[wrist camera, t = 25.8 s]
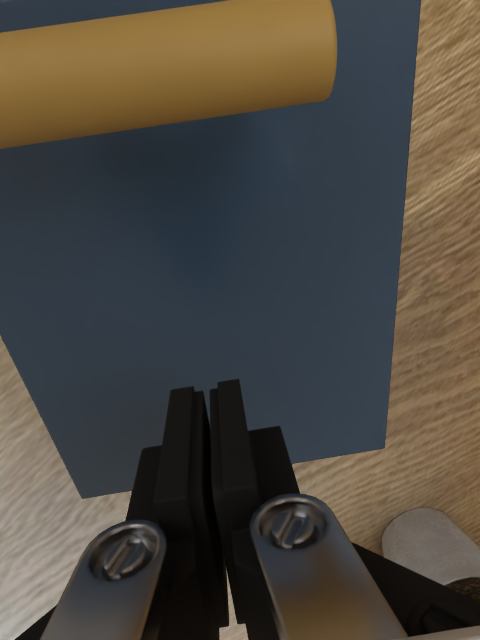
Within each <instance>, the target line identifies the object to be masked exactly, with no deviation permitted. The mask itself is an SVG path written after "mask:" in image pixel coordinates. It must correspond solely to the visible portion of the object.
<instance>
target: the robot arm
mask: <svg viewBox="0 0 480 640" xmlns="http://www.w3.org/2000/svg"><path fill="white" fill-rule="evenodd" d="M217 385H218V388H215V389H210V424H209V419H208V413H207V408H206V403H205V397H204V393H203V390H202V391H196V392H195V389H194V386H190V387H184V388H178V389H172V390H171V391H170V397H169V403H168V410H167V416H166V423H165V429H164V436H163V442H162V445H159V446H153V447H147V448H143V449H142V451H141V455H140V459H139V463H138V468H137V472H136V477H135V481H134V486H133V490H132V495H131V499H130V503H129V508H128V512H127V517H126V521H125V522H121V523H119V524H116V525H114V526H111V527H110V528H108V529H106V530H105V531H103V532H102V533H100V534H99V535H98V536H97V537H95V538H94V539H93V540H92V541H91V542H90V543H89V545H88V546H87V548H86V549H85V551H84V552H83V554H82V555H81V557H80V559H79V562H78V564H77V566H76V568H75V570H74V572H73V574H72V576H71V578H70V580H69V582H68V584H67V586H66V588H65V590H64V592H63V594H62V596H61V598H60V600H59V602H58V604H57V605H56V606H55V607H54V608H53V609H51V610H50V611H49V612H48V613H46V614H45V615H44V616H43V617H42V618H40V619H39V620H38V621H37V622H36V623H34V624H33V625H32V626H31V627H29V628H28V629H27V630H26V631H25V632H23V633H22V634H21V635H20V636H19V637H17V638H16V639H15V640H219V628H221V627H227V626H229V610H228V592H227V574H228V579H229V584H230V589H231V594H232V599H233V604H234V609H235V614H236V619H237V624H244V623H246V628H247V634H248V639H249V640H480V604H479V603H478V602H476V601H474V600H473V599H471V598H469V597H468V596H466V595H463V594H461V593H459V592H457V591H455V590H453V589H451V588H448V587H446V586H444V585H442V584H440V583H438V582H436V581H433V580H431V579H429V578H427V577H425V576H423V575H421V574H419V573H416V572H414V571H412V570H410V569H408V568H406V567H404V566H401V565H399V564H397V563H395V562H393V561H391V560H389V559H386V558H384V557H382V556H380V555H378V554H376V553H374V552H372V551H369V550H367V549H365V548H363V547H361V546H359V545H357V544H354V543H352V542H351V541H350V540H349V538H348V536H347V535H346V533H345V531H344V530H343V528H342V526H341V525H340V523H339V521H338V520H337V518H336V516H335V515H334V513H333V512H332V510H331V509H330V508H329V507H328V506H327V505H326V503H324V502H322V501H321V500H319V499H317V498H316V497H313V496H309V495H306V494H300V491H299V488H298V485H297V481H296V478H295V474H294V471H293V468H292V464H291V461H290V458H289V454H288V451H287V447H286V444H285V441H284V437H283V434H282V430H281V427H280V426H274V427H268V428H262V429H256V430H250V431H248V429H247V423H246V417H245V411H244V404H243V398H242V392H241V386H240V380H239V379H233V380H227V381H221V382H217ZM226 568H227V573H226Z"/></svg>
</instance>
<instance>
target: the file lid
mask: <svg viewBox="0 0 480 640" xmlns="http://www.w3.org/2000/svg"><path fill="white" fill-rule="evenodd" d="M420 6H421V0H0V335H1V338H2V340H3V342H4V344H5V346H6V348H7V350H8V352H9V354H10V356H11V358H12V360H13V362H14V364H15V366H16V368H17V370H18V372H19V374H20V376H21V378H22V380H23V382H24V384H25V386H26V388H27V390H28V392H29V394H30V396H31V398H32V400H33V402H34V404H35V406H36V408H37V410H38V412H39V414H40V416H41V418H42V420H43V422H44V424H45V426H46V428H47V430H48V432H49V434H50V436H51V438H52V440H53V442H54V444H55V446H56V448H57V450H58V452H59V454H60V456H61V458H62V460H63V462H64V464H65V466H66V468H67V470H68V472H69V474H70V476H71V478H72V480H73V482H74V484H75V486H76V488H77V490H78V492H79V494H80V496H81V498H82V499H85V498H91V497H97V496H103V495H109V494H115V493H121V492H127V491H132V490H133V486H134V481H135V477H136V472H137V468H138V463H139V459H140V455H141V451H142V449H143V448H147V447H153V446H159V445H162V442H163V436H164V429H165V423H166V416H167V410H168V403H169V397H170V391H171V390H172V389H178V388H184V387H190V386H194V389H195V392H196V391H202V390H203V393H204V397H205V403H206V408H207V413H208V419H209V424H210V389H215V388H218V385H217V382H221V381H227V380H233V379H239V380H240V386H241V392H242V398H243V404H244V411H245V417H246V423H247V429H248V431H250V430H256V429H262V428H268V427H274V426H280V427H281V430H282V434H283V437H284V441H285V444H286V447H287V451H288V454H289V458H290V461H291V464H294V463H300V462H306V461H312V460H318V459H324V458H330V457H336V456H342V455H348V454H354V453H360V452H366V451H372V450H378V449H383V448H385V439H386V426H387V414H388V402H389V389H390V377H391V365H392V352H393V340H394V328H395V315H396V303H397V290H398V278H399V266H400V253H401V241H402V229H403V216H404V204H405V192H406V179H407V167H408V154H409V142H410V130H411V117H412V105H413V93H414V80H415V68H416V55H417V43H418V31H419V18H420Z"/></svg>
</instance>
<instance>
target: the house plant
mask: <svg viewBox="0 0 480 640" xmlns="http://www.w3.org/2000/svg"><path fill="white" fill-rule="evenodd" d="M381 543H382V550H383V554H384V558H386V559H389V560H391V561H393V562H395V563H397V564H399V565H401V566H404V567H406V568H408V569H410V570H412V571H414V572H416V573H419V574H421V575H423V576H425V577H427V578H429V579H431V580H433V581H436V582H438V583H440V584H442V585H444V586H446V587H448V588H451V589H453V590H455V591H457V592H459V593H461V594H463V595H466V596H468V597H469V598H471V599H473V600H474V601H476V602H478V603H479V604H480V548H479V547H478V546H477V545H476V544H475V543H474V542H473V541H472V540H471V539H470V538H469V537H468V536H467V535H466V534H465V533H464V532H463V531H462V530H461V529H460V528H459V527H458V526H457V525H456V524H455V523H454V522H453V521H452V520H451V519H450V518H449V517H448V516H447V515H446V514H445V513H443V512H441V511H439V510H436V509H432V508H417V509H413V510H409V511H407V512H405V513H402V514H400V515H399V516H398V517H396V518H395V519H394V520H392V522H391V523H390V524H389V525H388V526H387V528H386V530H385V532H384V534H383V537H382V542H381Z"/></svg>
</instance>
